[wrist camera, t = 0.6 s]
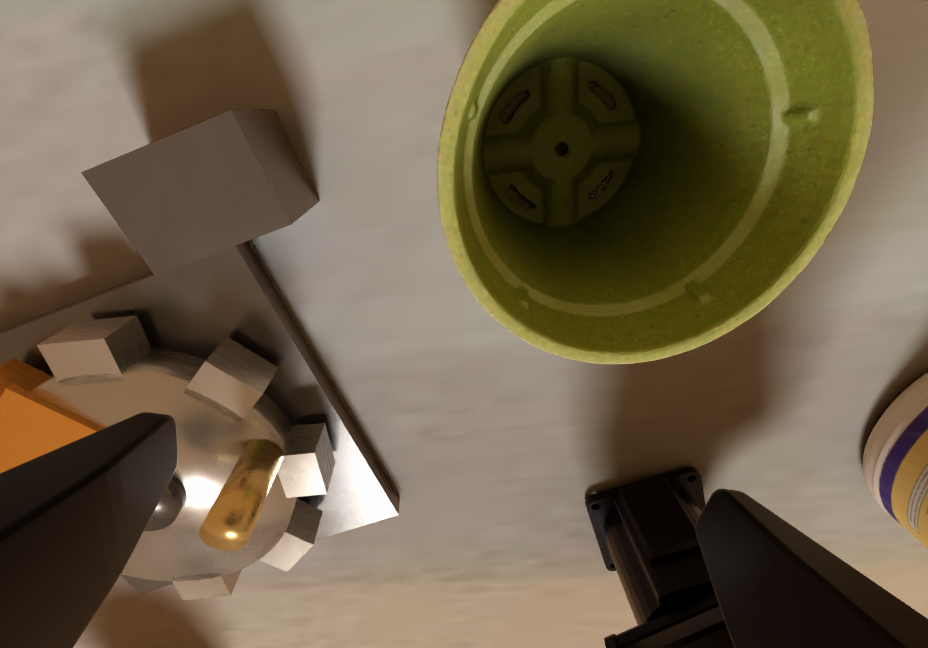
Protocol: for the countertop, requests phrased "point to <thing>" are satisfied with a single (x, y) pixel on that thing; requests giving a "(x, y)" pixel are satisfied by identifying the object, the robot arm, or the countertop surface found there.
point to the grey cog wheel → (180, 447)
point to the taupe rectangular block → (205, 188)
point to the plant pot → (650, 164)
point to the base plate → (256, 328)
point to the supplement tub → (902, 460)
